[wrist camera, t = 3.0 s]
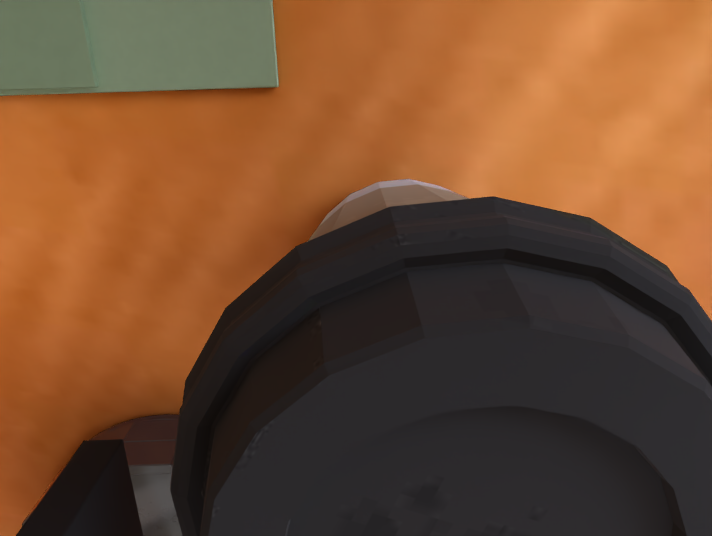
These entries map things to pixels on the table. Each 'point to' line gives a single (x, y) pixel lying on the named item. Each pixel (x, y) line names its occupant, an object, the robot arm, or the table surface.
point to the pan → (147, 470)
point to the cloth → (135, 45)
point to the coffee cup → (451, 382)
